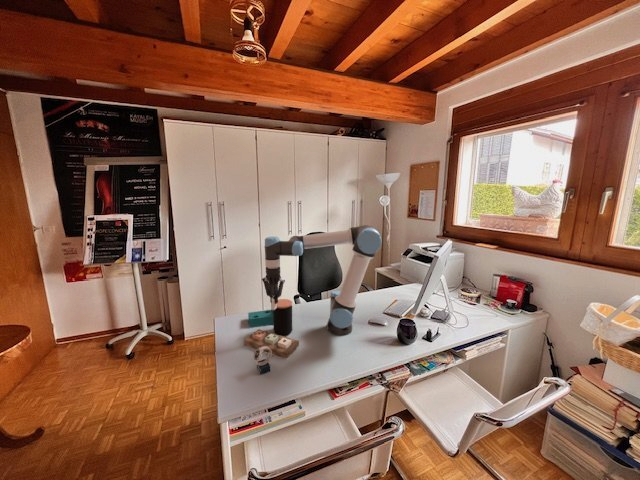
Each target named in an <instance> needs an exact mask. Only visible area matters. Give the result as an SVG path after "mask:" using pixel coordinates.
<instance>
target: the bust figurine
mask: <svg viewBox="0 0 640 480" xmlns="http://www.w3.org/2000/svg"><path fill="white" fill-rule="evenodd" d="M265 349H269V350H270V351H269V353H268V354H267V356H266V358H263V359H262V357H263V352H264V351H263V350H265ZM272 357H273V354H272V351H271V349H270V348H269V347H268V346H263V347H260V348H258V349H255V351H254V353H253V360H254V361H255V363H256V368H257V371H258V372H259V374H260V375H265V374H267V373H270V372H271V364H270V360H271V359H272Z"/></svg>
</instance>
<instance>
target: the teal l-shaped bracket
mask: <svg viewBox="0 0 640 480" xmlns="http://www.w3.org/2000/svg"><path fill="white" fill-rule="evenodd" d="M270 304H271V305H270V306H271V309H267V310H259V311H252V312H248V313H247V314H248V315H247V316H248V324H249V325H248V326H249V328H255V327H256V328H257V327H262V326H263V327H264V326H270V325H273V310H272V303H271V302H270Z"/></svg>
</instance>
